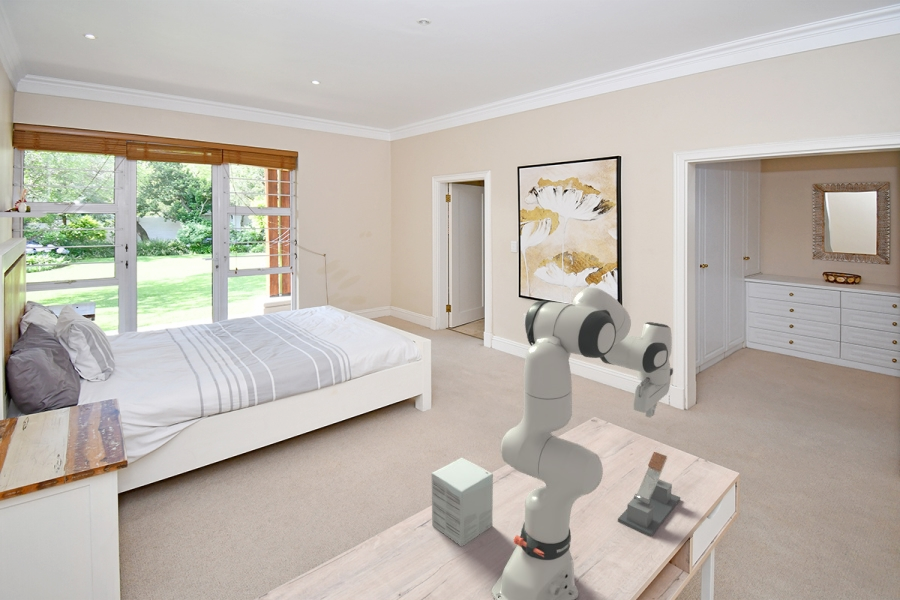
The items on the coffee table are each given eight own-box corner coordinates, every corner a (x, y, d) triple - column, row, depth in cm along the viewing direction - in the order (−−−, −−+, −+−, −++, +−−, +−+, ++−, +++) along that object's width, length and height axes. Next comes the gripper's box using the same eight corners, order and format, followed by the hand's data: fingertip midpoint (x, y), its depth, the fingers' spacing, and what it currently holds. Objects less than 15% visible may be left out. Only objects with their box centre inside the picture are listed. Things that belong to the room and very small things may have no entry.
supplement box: (462, 506, 151) (462, 456, 147) (493, 526, 141) (493, 473, 138) (431, 525, 142) (430, 472, 138) (461, 547, 132) (461, 491, 129)
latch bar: (649, 506, 140) (647, 502, 139) (634, 499, 143) (633, 496, 142) (668, 458, 148) (667, 455, 146) (654, 453, 151) (653, 450, 149)
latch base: (651, 537, 136) (653, 509, 134) (617, 521, 143) (619, 494, 141) (680, 500, 153) (682, 474, 151) (649, 487, 160) (651, 463, 158)
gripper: (651, 386, 135) (647, 430, 138) (675, 367, 149) (671, 408, 152) (629, 380, 139) (626, 424, 142) (655, 363, 154) (651, 402, 156)
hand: (650, 415), depth 147 cm, fingers closed
